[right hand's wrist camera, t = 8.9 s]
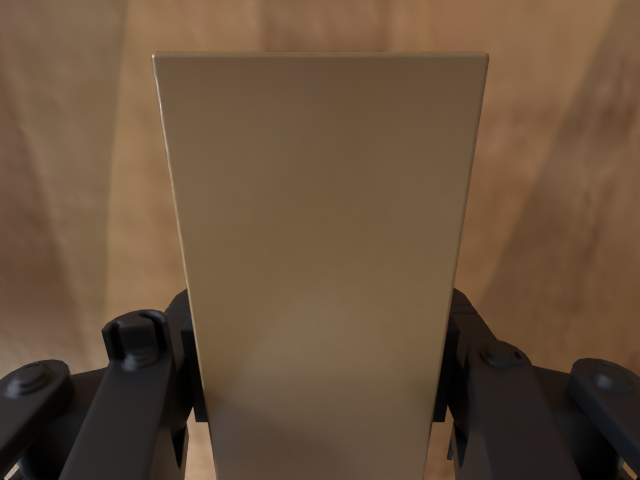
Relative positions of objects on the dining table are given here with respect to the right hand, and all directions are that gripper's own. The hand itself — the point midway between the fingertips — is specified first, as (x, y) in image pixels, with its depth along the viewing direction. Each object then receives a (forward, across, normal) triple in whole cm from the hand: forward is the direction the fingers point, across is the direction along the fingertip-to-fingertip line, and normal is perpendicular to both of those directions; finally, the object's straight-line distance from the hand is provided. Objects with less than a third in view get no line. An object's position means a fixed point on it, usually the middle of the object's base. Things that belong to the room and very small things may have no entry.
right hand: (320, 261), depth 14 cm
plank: (+1, 0, -20) cm, 20 cm away
